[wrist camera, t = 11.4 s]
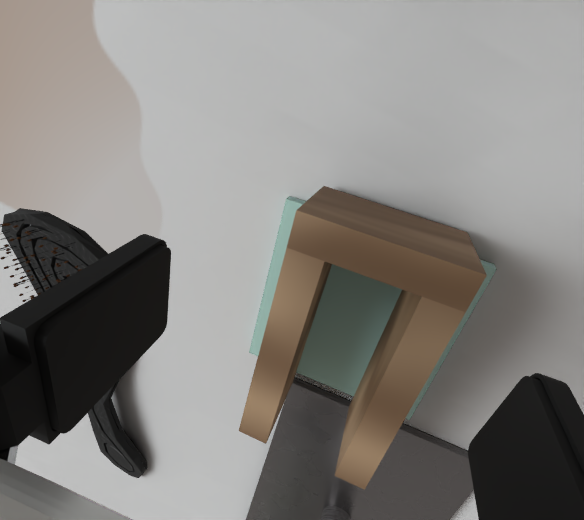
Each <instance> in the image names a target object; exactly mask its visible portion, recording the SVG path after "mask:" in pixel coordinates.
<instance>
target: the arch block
mask: <svg viewBox="0 0 584 520" xmlns="http://www.w3.org/2000/svg"><path fill="white" fill-rule="evenodd" d="M332 264H333V265H336V266H339V267H341V268H344V269H347V270H350V271H353V272H355V273H358V274H361V275H364V276H366V277H369V278H372V279H375V280H377V281H380V282H383V283H386V284H388V285H391V286H394V287H397V288H399V289H402V291H401V293H400V295H399V298H398V300H397V302H396V304H395V306H394V309H393V311H392V313H391V315H390V317H389V320H388V322H387V324H386V326H385V328H384V331H383V333H382V335H381V337H380V340H379V342H378V344H377V346H376V348H375V351H374V353H373V355H372V357H371V359H370V362H369V364H368V366H367V368H366V370H365V373H364V375H363V377H362V379H361V381H360V384H359V386H358V388H357V390H356V392H355V395H354V397H353V399H352V401H351V403H350V406H349V409H348V414H347V419H346V424H345V428H344V433H343V438H342V442H341V447H340V452H339V457H338V461H337V466H336V471H335V476H336V477H338V478H340V479H343V480H345V481H347V482H349V483H351V484H353V485H355V486H358V487H360V488H362V489H364V490H365V488H366V486H367V485H368V483H369V481H370V479H371V478H372V476H373V474H374V472H375V471H376V469H377V467H378V465H379V464H380V462H381V460H382V458H383V457H384V455H385V453H386V451H387V449H388V448H389V446H390V444H391V442H392V441H393V439H394V437H395V435H396V434H397V432H398V430H399V428H400V427H401V425H402V423H403V421H404V420H405V418H406V416H407V414H408V413H409V411H410V409H411V407H412V406H413V404H414V402H415V400H416V399H417V397H418V395H419V393H420V392H421V390H422V388H423V386H424V385H425V383H426V381H427V379H428V378H429V376H430V374H431V372H432V371H433V369H434V367H435V365H436V364H437V362H438V360H439V358H440V357H441V355H442V353H443V351H444V350H445V348H446V346H447V344H448V343H449V341H450V339H451V337H452V336H453V334H454V332H455V330H456V329H457V327H458V325H459V323H460V322H461V320H462V318H463V316H464V315H465V313H466V311H467V309H468V308H469V306H470V304H471V302H472V301H473V299H474V297H475V295H476V294H477V292H478V290H479V288H480V286H481V285H482V283H483V281H484V279H485V278H486V276H487V274H486V272H485V270H484V268H483V265H482V263H481V261H480V259H479V257H478V255H477V252H476V250H475V248H474V246H473V244H472V241H471V239H470V237H469V235H468V233H467V232H464V231H461V230H458V229H455V228H452V227H449V226H446V225H443V224H440V223H437V222H433V221H430V220H427V219H424V218H421V217H418V216H415V215H412V214H409V213H406V212H403V211H400V210H396V209H393V208H390V207H387V206H384V205H381V204H378V203H375V202H372V201H369V200H366V199H362V198H359V197H356V196H353V195H350V194H347V193H344V192H341V191H338V190H335V189H332V188H329V187H325V186H324V187H322V188H321V189H320V190H319V191H318V192H317V193H315V194H314V195H313V196H312V197H311V198H310V199H309V200H307V201H306V202H305V203H304V204H303V205H302V206H301V207H299V208H298V209H297V210H296V213H295V217H294V221H293V225H292V229H291V232H290V236H289V240H288V244H287V248H286V252H285V255H284V259H283V263H282V267H281V271H280V275H279V278H278V282H277V286H276V290H275V294H274V298H273V301H272V305H271V309H270V313H269V317H268V321H267V324H266V328H265V332H264V336H263V340H262V344H261V347H260V351H259V355H258V359H257V363H256V367H255V370H254V374H253V378H252V382H251V386H250V390H249V393H248V397H247V401H246V405H245V409H244V413H243V417H242V420H241V424H240V428H239V431H240V432H242V433H244V434H247V435H249V436H251V437H253V438H255V439H257V440H259V441H261V442H264V443H266V442H267V440H268V438H269V435H270V433H271V431H272V429H273V426H274V424H275V422H276V419H277V417H278V415H279V413H280V410H281V408H282V406H283V403H284V401H285V399H286V397H287V394H288V392H289V390H290V387H291V385H292V383H293V380H294V377H295V374H296V371H297V368H298V365H299V362H300V359H301V356H302V353H303V350H304V347H305V344H306V341H307V338H308V335H309V332H310V329H311V326H312V323H313V320H314V317H315V314H316V311H317V308H318V305H319V302H320V299H321V296H322V293H323V290H324V287H325V284H326V281H327V278H328V275H329V272H330V269H331V266H332Z"/></svg>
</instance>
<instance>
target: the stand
mask: <svg viewBox="0 0 584 520" xmlns="http://www.w3.org/2000/svg"><path fill="white" fill-rule="evenodd" d="M350 403H351V401H349V400H346V399H344V398H342V397H339V396H337V395H335V394H332V393H330V392H328V391H325V390H323V389H321V388H318V387H316V386H314V385H311V384H309V383H306V382H304V381H302V380H299V379H297V378H295V377H294V380H293V383H292V385H291V387H290V390H289V392H288V394H287V397H286V399H285V403H284V406H283V409H282V412H281V415H280V418H279V421H278V424H277V427H276V430H275V433H274V436H273V439H272V442H271V445H270V448H269V451H268V454H267V457H266V460H265V463H264V466H263V469H262V472H261V476H260V479H259V482H258V485H257V488H256V491H255V494H254V497H253V500H252V503H251V506H250V509H249V512H248V515H247V518H246V520H449V519H450V518H451V517H452V516H453V515H454V513H455V512H456V511H457V510H458V508H459V507H460V506H461V505H462V503H463V502H464V501H465V500H466V498H467V497H468V496H469V495H470V493H471V492H472V491H473V490H474V488H473V482H472V476H471V470H470V464H469V458H468V451H466V450H464V449H461V448H459V447H457V446H454V445H452V444H450V443H447V442H445V441H443V440H440V439H438V438H436V437H433V436H431V435H429V434H426V433H424V432H422V431H419V430H417V429H414V428H412V427H410V426H407V425H405V424H403V423H402V425H401V427H400V428H399V430H398V432H397V434H396V435H395V437H394V439H393V441H392V442H391V444H390V446H389V448H388V449H387V451H386V453H385V455H384V457H383V458H382V460H381V462H380V464H379V465H378V467H377V469H376V471H375V472H374V474H373V476H372V478H371V479H370V481H369V483H368V485H367V486H366V488H365V490H364V489H362V488H360V487H358V486H355V485H353V484H351V483H349V482H347V481H345V480H343V479H340V478H338V477H336V476H335V471H336V466H337V461H338V457H339V452H340V447H341V442H342V438H343V433H344V428H345V424H346V419H347V414H348V409H349V406H350Z"/></svg>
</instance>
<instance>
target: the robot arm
mask: <svg viewBox="0 0 584 520" xmlns="http://www.w3.org/2000/svg"><path fill="white" fill-rule="evenodd" d="M170 262H171V250H170V249H169V248H167V245H166V242H165V241H164V240H161V239H158V238H155V237H152V236H149V235H146V234H143V235H140V236H138V237H137V238H136V239H133V240H132V241H130V242H129V243H127V244H125V245H123V246H122V247H120V248H118V249H116V250H115V251H113V252H111V253H110V254H108V255H106V256H104V257H103V258H101V259H99V260H98V261H96V262H94V263H93V264H91V265H89V266H87V267H86V268H84V269H82V270H81V271H79V272H77V273H76V274H74V275H72V276H70V277H69V278H67V279H65V280H64V281H62V282H60V283H59V284H57V285H55V286H53V287H52V288H50V289H48V290H47V291H45V292H43V293H42V294H40V295H38V296H36V297H35V298H33V299H31V300H30V301H28V302H26V303H25V304H23V305H21V306H19V307H18V308H16V309H14V310H13V311H11V312H9V313H8V314H6V315H4V316H2V317H1V318H0V323H1V324H0V520H132V519H130V518H128V517H126V516H124V515H122V514H120V513H118V512H115V511H113V510H111V509H109V508H107V507H105V506H103V505H101V504H98V503H96V502H94V501H92V500H90V499H88V498H86V497H84V496H82V495H79V494H77V493H75V492H73V491H71V490H69V489H67V488H65V487H62V486H60V485H58V484H56V483H54V482H52V481H50V480H47V479H45V478H43V477H41V476H39V475H36V474H34V473H32V472H30V471H27V470H25V469H23V468H21V467H18V466H16V465H15V460H16V455H17V450H18V445H19V444H20V443H21V442H22V441H23V440H24V439H25V438H26V437H28V436H29V435H30V436H32V437H34V438H36V439H38V440H41V441H43V442H45V443H47V444H50V443H51V442H52V441H53V440H54V439H55V438H56V437H57V436H58V435H59V434H60V433H67V432H68V431H70V430H71V429H72V428H73V427H74V426H75V425H76V424H77V423H78V422H79V421H80V420H81V419H82V418H83V417H84V416H85V415H86V414H87V413H88V412H89V411H90V410H91V408H92V407H93V406H94V405H95V404H96V403H97V402H98V401H99V400H100V399H101V398H102V397H103V396H104V395H105V394H106V393H107V392H108V391H109V390H110V389H111V387H112V386H113V385H114V384H115V383H116V382H117V381H118V380H119V379H120V378H121V377H122V376H123V375H124V374H125V373H126V372H127V371H128V370H129V369H130V368H131V366H132V365H133V364H134V363H135V362H136V361H137V360H138V359H139V358H140V357H141V356H142V355H143V354H144V353H145V352H146V351H147V350H148V349H149V348H150V347H151V346H152V344H153V343H154V342H155V341H156V340H157V339H158V338H159V337H160V336H161V335H162V334H163V332H164V330H165V328H166V325H167V314H168V297H169V279H170ZM468 458H469V464H470V470H471V476H472V482H473V488H474V494H475V499H476V505H477V511H478V517H479V520H584V414H583V412H582V411H581V409H580V407H579V405H578V403H577V401H576V399H575V398H574V396H573V394H572V392H571V390H570V388H569V387H568V385H567V384H566V383H564V382H562V381H559V380H556V379H553V378H550V377H548V376H545V375H542V374H539V373H535V374H533V375H531V376H530V377H529V376H525V377H523V378H522V379H521V380H520V381H519V382H518V384H517V385H516V386H515V387H514V389H513V390H512V391H511V392H510V394H509V395H508V396H507V397H506V399H505V400H504V401H503V402H502V404H501V405H500V406H499V407H498V409H497V410H496V411H495V412H494V414H493V415H492V416H491V417H490V419H489V420H488V421H487V422H486V424H485V425H484V426H483V427H482V429H481V430H480V431H479V432H478V434H477V435H476V436H475V437H474V439H473V440H472V441H471V443H470V445H469V449H468Z"/></svg>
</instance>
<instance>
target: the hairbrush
mask: <svg viewBox="0 0 584 520" xmlns="http://www.w3.org/2000/svg"><path fill="white" fill-rule="evenodd" d="M0 225H2V226H1V227H2V232H3V233H2V234H4V235H5V237H6V238H3V239H7V241H8V243H9V244H10V246H11V247H10V246H9V245H7V244H6V245H4V246H5V247H4V248H6V247H7V246H8V247H10V248H12V250H13V251H14V253H15V255H16V257H17V259H18V260H19V262H20V263H16V264H15V265H18V264H21V266H22V267H21V268H23V269H24V271H25V273H26V275H27V276H28V278H29V279H27V280H30V282H31V284H32V285H33V287H34V290H35V291H36V293H37V294H38V295H40V294H42V293H43V292H45V291H47V290H48V289H50V288H52V287H53V286H55V285H57V284H59V283H60V282H62V281H64V280H65V279H67V278H69V277H70V276H72V275H74V274H76V273H77V272H79V271H81V270H82V269H84V268H86V267H87V266H89V265H91V264H93V263H94V262H96V261H98V260H99V259H101V258H103V257H104V256H106V255H108V253H107V252H106V251H105V250H104V249H103V248H101V247H100V245H98V244H97V243H96V242H95V241H94V240H93V239H92V238H91V237H90V236H89V235H88V234H87V233H86V232H85V231H83V230H81V229H79V228H77V227H75V226H73V225H71V224H69V223H67V222H66V221H64V220H61V219H60V218H58V217H56V216H54V215H52V214H50V213H48V212H43V211H36V210H28V209H21V208H20V209H18V210H17V211H15V212H12V213H9V214H5V215H4V220H3V224H0ZM30 225H31V226H30ZM0 240H2V239H0ZM0 249H3V248H0ZM4 250H5V249H4ZM9 250H11V249H9V248H7V250H6V251H9ZM9 253H11V252H7V253H6V254H9ZM11 256H12V255H11ZM4 258H5V257H2V258H1V259H4ZM17 259H13V260H12V261H15V260H17ZM12 266H13V265H12ZM9 267H10V266H9ZM6 268H8V266H6V267H4V269H6ZM18 269H20V268H16V269H15V270H18ZM22 273H24V272H22ZM20 274H21V273H20ZM17 275H18V274H17ZM27 276H24V277H27ZM10 277H14V275H11V276H10ZM24 277H23V276H22V277H21V278H20V279H23V278H24ZM25 281H26V280H23V281H21V282H24V283H25ZM21 282H18V283H21ZM27 282H28V281H27ZM18 283H14V284H13V285H14V287H16V286H18V285H20V284H18ZM16 284H18V285H16ZM21 284H23V283H21ZM28 287H29V286H28ZM28 287H25V288H28ZM32 291H33V290H32ZM22 295H23V294H20V295H19V296H22ZM30 297H31V299H33V298H35V297H34V295H32V296H30ZM27 300H28V299H27ZM25 301H26V300H23V302H25ZM118 381H119V380H118ZM118 381H117V382H116V383H115V384H114V385H113V386H112V387H111V389H110V390H109V391H108V392H107V393H106V394H105V395H104V396H103V397H102V398H101V399H100V400H99V401H98V402H97V403H96V404H95V405H94V406H93V407H92V408H91V410H90V411H89V412H88V415H89V418H90V422H91V425H92V428H93V431H94V434H95V437H96V440H97V442H98V445H99V448H100V450H101V452H102V453H103V454H104V455H105V456H106V457H107V458H108V459H109V460H110V461H111V462H112V463H113V464H114V465H115V466H117V467H118V468H120V469H121V470H123V471H124V472H126V473H127V474H129V475H131V476H133V477H136V478H139V477H140V476H141V475H142V474H143V473H144V469H147V462H146V461H145V459H144V458H143V457H142V455H141V454H140V452H139V451H138V450H137V448H136V447H135V446H134V444H133V443H132V442H131V440H130V439H129V438H128V436H127V435H126V434H125V432H124V431H123V430H122V427H121V424H120V421H119V419H118V416H117V413H116V410H115V408H114V405H113V402H112V399H111V397H112V395H113V392H114V390H115V388H116V385H117V383H118ZM142 462H143V463H142Z"/></svg>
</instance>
